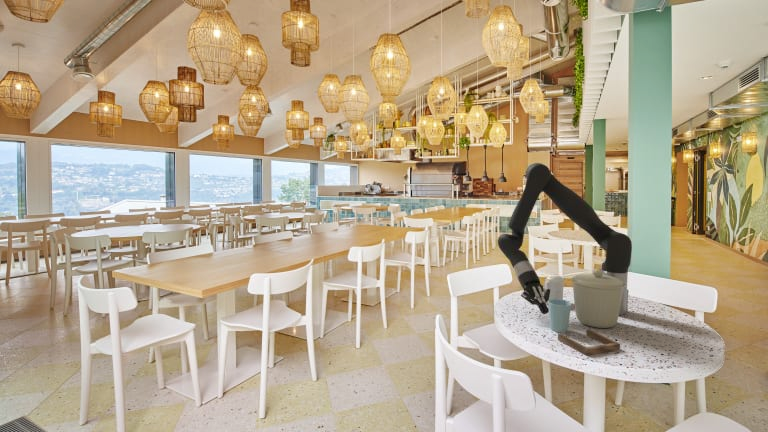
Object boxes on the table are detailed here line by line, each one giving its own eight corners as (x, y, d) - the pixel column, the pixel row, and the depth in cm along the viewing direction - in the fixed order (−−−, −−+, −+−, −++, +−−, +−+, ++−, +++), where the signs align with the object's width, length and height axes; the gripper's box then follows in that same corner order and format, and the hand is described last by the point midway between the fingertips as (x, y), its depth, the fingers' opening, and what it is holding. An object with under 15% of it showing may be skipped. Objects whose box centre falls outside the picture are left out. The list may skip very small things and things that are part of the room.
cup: (575, 330, 134) (575, 302, 133) (563, 335, 130) (564, 307, 129) (555, 324, 140) (555, 297, 139) (543, 329, 136) (544, 301, 135)
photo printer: (555, 299, 170) (556, 272, 169) (564, 301, 167) (565, 274, 165) (542, 303, 164) (542, 276, 163) (550, 306, 161) (551, 278, 160)
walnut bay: (589, 334, 130) (589, 329, 130) (619, 349, 119) (620, 343, 118) (557, 339, 127) (557, 334, 126) (586, 355, 115) (586, 349, 115)
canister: (619, 337, 128) (622, 277, 126) (563, 324, 140) (565, 270, 138) (627, 321, 142) (630, 268, 140) (576, 311, 154) (577, 261, 152)
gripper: (516, 270, 147) (536, 310, 137) (544, 268, 151) (565, 306, 140) (508, 280, 153) (526, 319, 142) (535, 277, 157) (555, 315, 146)
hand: (546, 313), depth 141 cm, fingers closed
